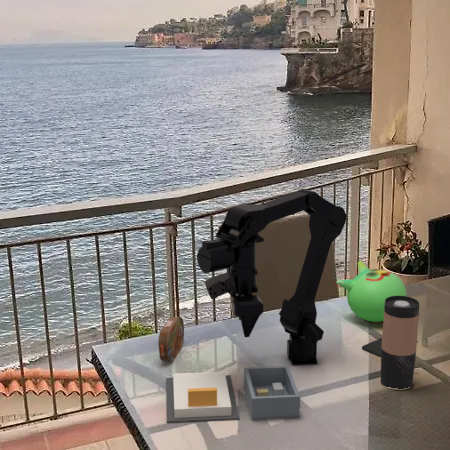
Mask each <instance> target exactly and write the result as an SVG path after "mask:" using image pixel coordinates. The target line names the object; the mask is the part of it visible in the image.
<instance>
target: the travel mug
mask: <svg viewBox="0 0 450 450" xmlns="http://www.w3.org/2000/svg"><path fill="white" fill-rule="evenodd" d="M419 315H420V302H419V300H417V298H414V297H412V296H411V297H410V296H407V295H406V296H391V297H388V298H386V299H385V307H384V320H383V321H382V323H383V325H382V335H381V336H382V337H381V338H382V346H381V347H382V348H381V357H380V384H381V385H382V386H383V385H384V386H386V387H391V388H398V389H404V388H408V387H410V386H412V387H413V383H414V375H415V366H416V356H417V347H418V346H417V345H418V334H419V333H418V331H419V330H418V329H419V317H420V316H419ZM384 386H383V387H384ZM386 387H385V388H386Z"/></svg>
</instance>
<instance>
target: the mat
mask: <svg viewBox="0 0 450 450" xmlns="http://www.w3.org/2000/svg"><path fill="white" fill-rule="evenodd" d="M225 376H226V381H227V387H228V392H229V397H230V402H231V415H229V416H207V417H185V418H175V416H174V388H173V377H166V378H165V388H166V392H165V393H166V401H165V402H166V404H165V405H166V424H175V423H176V424H178V423H179V424H180V423H197V422H199V423H200V422H214V421H215V422H216V421H218V422H220V421H222V422H224V421H240V413H239V410H238V405H237V399H236V394H235V390H234V386H233V380H232V375H230V374H228V375H226V374H225Z"/></svg>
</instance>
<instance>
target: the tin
mask: <svg viewBox="0 0 450 450" xmlns="http://www.w3.org/2000/svg"><path fill="white" fill-rule="evenodd" d="M184 325H185V324H184V320H183V317H181V316H171V317H169V318H168V319H167V321H166V322H165V323H164V325H163V326H162V328H161V330H160V331H159V335H158V341H157V343H158V344H157V345H158V352H159V353H158V354H159V359H160V361H162V362H168V363H169V362H171V363H173V362H174V361H175V359H176V358H177V355H178V354H179V353H180V351H181V350H182V347H183V344H184V341H185V340H184V339H185V337H184V336H185V326H184Z"/></svg>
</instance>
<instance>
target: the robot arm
mask: <svg viewBox="0 0 450 450" xmlns="http://www.w3.org/2000/svg"><path fill="white" fill-rule="evenodd" d="M301 212H305V213H306V214H307V215H308V216H309V220H308V226H309V233H310V240H309V244H308V247H307V252H306V254H305V257H304V261H303V264H302V267H301V271H300V274H299V278H298V281H297V284H296V288H295V292H294V294H293V295H292V296H291V297H290V298H289V299H286V298H284V299H283V301H282V304H281V310H280V311H279V313H278V315H279V316H280V317H279V322H280V324H281V326H282V327H283V330H284V333H287V334H289V339H287V340H286V355H287V359H288V360H289V361H290V364H291V365H292V366H299V365H303V366H304V365H318V364H319V360H318V359H317V352H318V351H317V350H318V349H317V348H318V347H317V346H318V342H319V341H322V340H323V336H324V333H325V332H324V330H323V329H322V328H321V327H320V326H319V325H318V324H317V323H316V322H317V316H318V311H317V307H316V301H315V300H316V296H317V292H318V289H319V286H320V282H321V280H322V276H323V273H324V269H325V266H326V262H327V259H328V255H329V252H330V248H331V246H332V243H333V242H334V241H335V240H336V239H337V238H338V237H339V236H340V235H341V234H342V232H343V229H344V227H345V225H346V222H347V217H348V215H347V213H346V211H345V209H344V208H343V207H341V206H340V205H336V204H334V203H332V202H330V201H329V200H327V199H325V198H324V197H322V196H321V195H320V194H318V193H317V192H316V191H313V190H310V189H306V188H301V189H298V190H297V191H294V192H292V193H289V194H286V195H283V196H281V197H277V198H274V199H272V200H269V201H265V202H263V203H257V204H241V205H240V204H239V205H234V206H232V207H230V208H228V209H227V213H226V214H225V218H224V219H223V221H222V223H221V225H220V226H219V228H218V230H217V231H216V234H215V238H216V239H211V240H203V241H201V247H200V248H199V249H198V251H197V254H196V259H197V260H196V262H197V264H198V267H199V268H200V270H201V272H203V273H204V274H209V273H214V272H218V271H221V270H226V269H227V272H223V273H220V274H216V275H215V276H212V277H210V278H208V279H206V280H204V284H205V288H206V290H207V293H208V295H209V297H210V300H215V299H218V298H219V297H221V296H223V295H226V294H228V295H230V296H231V297H232V298H233V300H232V311H233V314H234V316H236V317H238V320H239V321H240V322H241V327H242V328H241V329H242V332H243V337H244V338H249V337H251V336H250V335H251V334H252V332H253V330H254V328H255V326H256V324H257V322H258V320H259V318H260V317H261V315H262V314H263V313H264V303H263V301H262V298H261V297H259V295H257V294H255V295H253V294H254V293H259V288H258V285H257V276H258V275H259V274H258V268H257V251H256V250H257V248H256V247H257V245H256V244H258V243H264V241H265V238H264V237H262V236H261V235H260V234H259V233H260V232H262V231H264V230H265V229H266V228H267V225H269V224H271V223H273V222H275V221H278V220H281V219H284V218H287V217H289V216H290V217H291V216H292V215H294V214H295V215H296V214H298V213H301ZM230 232H233V233H235V234H237V235H235V234H233V233H230Z"/></svg>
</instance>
